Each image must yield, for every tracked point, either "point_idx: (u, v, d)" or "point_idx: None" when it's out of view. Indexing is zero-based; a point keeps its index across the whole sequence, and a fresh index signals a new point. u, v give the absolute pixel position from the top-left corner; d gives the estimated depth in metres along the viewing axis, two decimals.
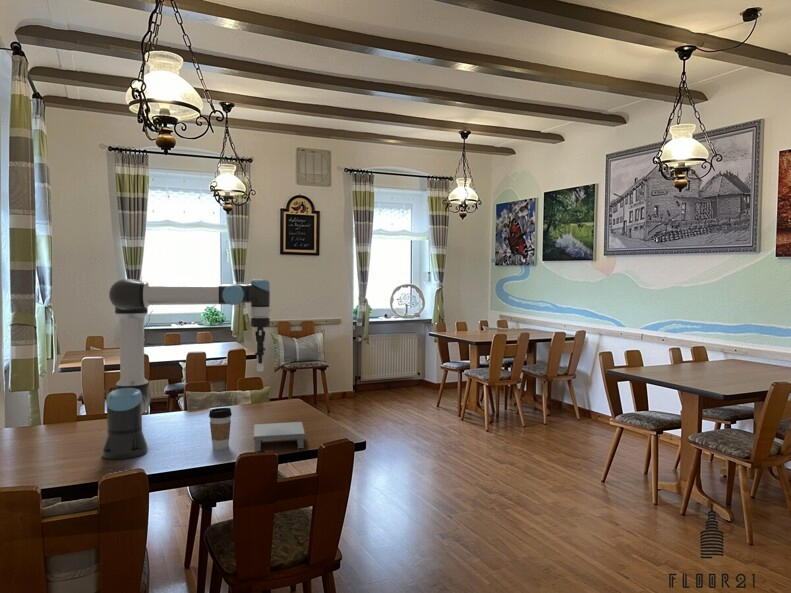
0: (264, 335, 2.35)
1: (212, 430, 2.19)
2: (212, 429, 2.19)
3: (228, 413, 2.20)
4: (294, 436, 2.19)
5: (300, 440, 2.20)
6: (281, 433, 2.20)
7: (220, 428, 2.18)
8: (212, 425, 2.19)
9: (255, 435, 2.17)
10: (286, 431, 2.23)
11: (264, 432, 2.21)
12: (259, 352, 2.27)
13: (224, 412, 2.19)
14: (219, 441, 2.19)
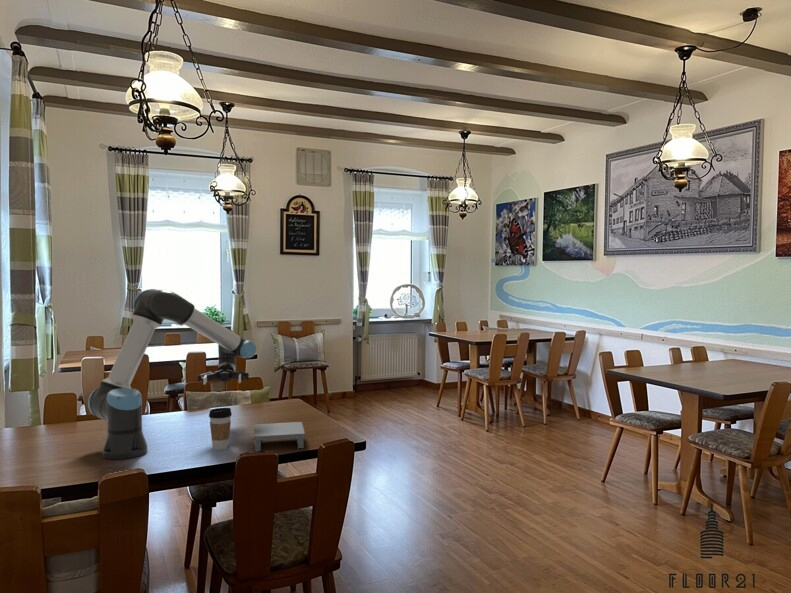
0: None
1: (212, 430, 2.19)
2: (212, 429, 2.19)
3: (228, 413, 2.20)
4: (294, 436, 2.19)
5: (300, 440, 2.20)
6: (281, 433, 2.20)
7: (220, 428, 2.18)
8: (212, 425, 2.19)
9: (255, 435, 2.17)
10: (286, 431, 2.23)
11: (264, 432, 2.21)
12: None
13: (224, 412, 2.19)
14: (219, 441, 2.19)
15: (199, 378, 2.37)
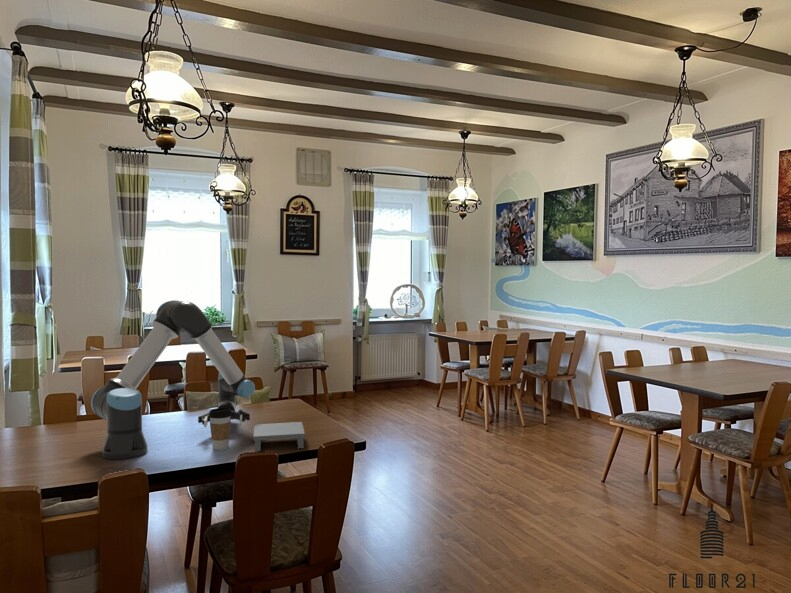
0: None
1: (212, 430, 2.19)
2: (212, 429, 2.19)
3: (228, 413, 2.20)
4: (294, 436, 2.19)
5: (300, 440, 2.20)
6: (281, 433, 2.20)
7: (220, 428, 2.18)
8: (212, 425, 2.19)
9: (255, 435, 2.17)
10: (286, 431, 2.23)
11: (264, 432, 2.21)
12: None
13: (224, 412, 2.19)
14: (219, 441, 2.19)
15: (199, 419, 2.33)
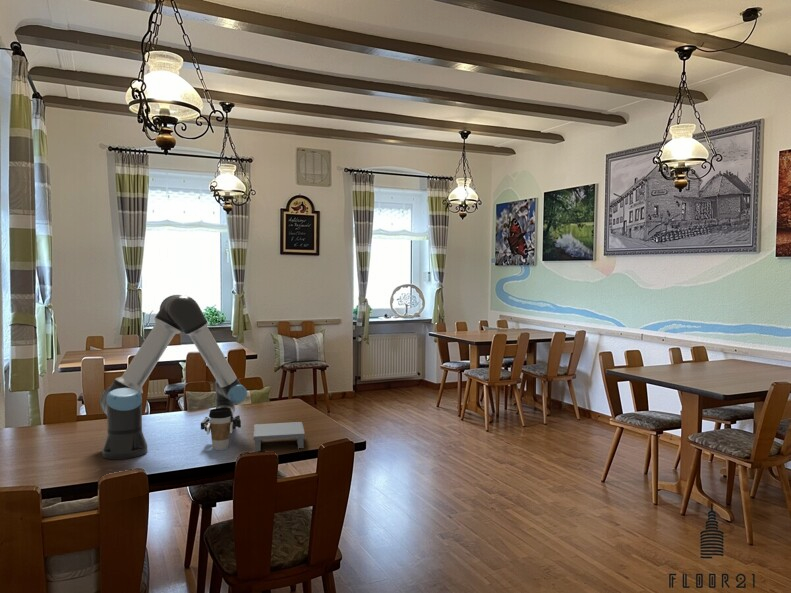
0: None
1: (212, 430, 2.19)
2: (212, 429, 2.19)
3: (228, 413, 2.20)
4: (294, 436, 2.19)
5: (300, 440, 2.20)
6: (281, 433, 2.20)
7: (220, 428, 2.18)
8: (212, 425, 2.19)
9: (255, 435, 2.17)
10: (286, 431, 2.23)
11: (264, 432, 2.21)
12: (240, 423, 2.26)
13: (224, 412, 2.19)
14: (219, 441, 2.19)
15: (202, 426, 2.23)
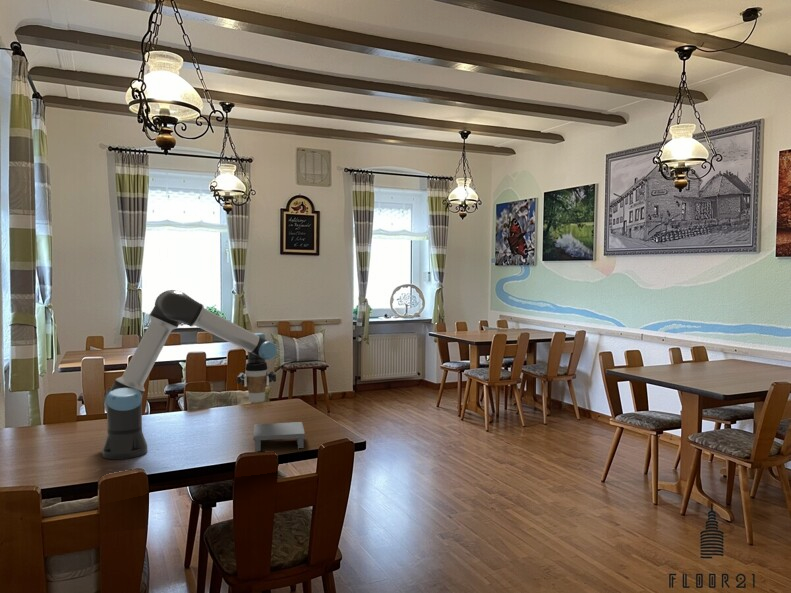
0: None
1: (249, 383, 2.22)
2: (249, 382, 2.22)
3: (264, 366, 2.23)
4: (294, 436, 2.19)
5: (300, 440, 2.20)
6: (281, 433, 2.20)
7: (257, 381, 2.22)
8: (249, 378, 2.22)
9: (255, 435, 2.17)
10: (286, 431, 2.23)
11: (264, 432, 2.21)
12: (275, 377, 2.30)
13: (261, 365, 2.22)
14: (256, 393, 2.22)
15: (238, 380, 2.26)
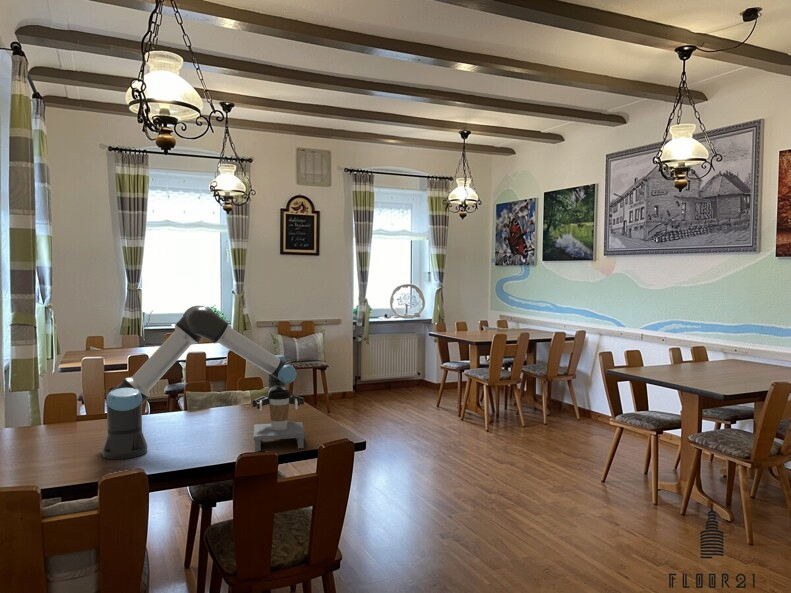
0: None
1: (272, 411, 2.24)
2: (272, 410, 2.24)
3: (287, 395, 2.25)
4: (294, 436, 2.19)
5: (300, 440, 2.20)
6: (281, 433, 2.20)
7: (280, 409, 2.23)
8: (272, 406, 2.24)
9: (255, 435, 2.17)
10: (286, 431, 2.23)
11: (264, 432, 2.21)
12: None
13: (284, 393, 2.24)
14: (279, 422, 2.24)
15: (254, 403, 2.28)
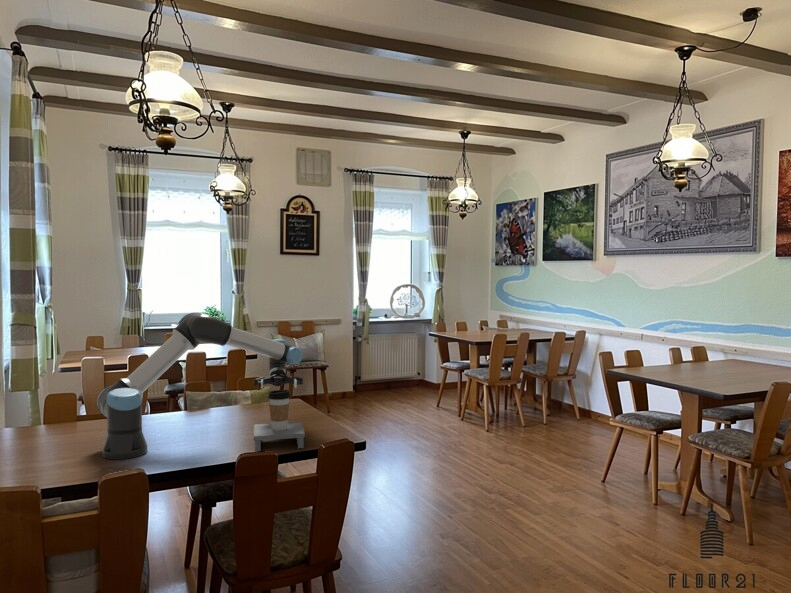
0: None
1: (272, 411, 2.24)
2: (272, 410, 2.24)
3: (287, 395, 2.25)
4: (294, 436, 2.19)
5: (300, 440, 2.20)
6: (281, 433, 2.20)
7: (280, 409, 2.23)
8: (272, 406, 2.23)
9: (255, 435, 2.17)
10: (286, 431, 2.23)
11: (264, 432, 2.21)
12: None
13: (284, 394, 2.24)
14: (278, 422, 2.24)
15: (255, 382, 2.41)
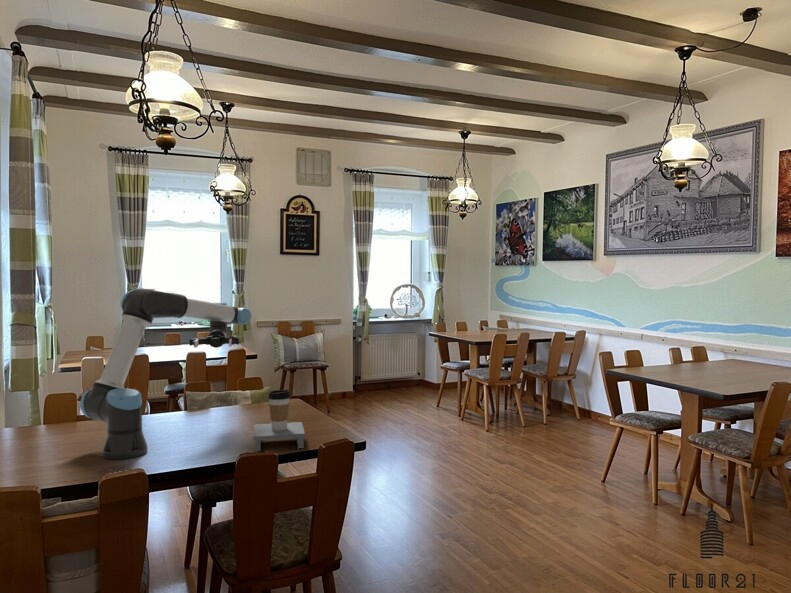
0: (222, 343, 2.52)
1: (272, 411, 2.24)
2: (272, 410, 2.24)
3: (287, 395, 2.25)
4: (294, 436, 2.19)
5: (300, 440, 2.20)
6: (281, 433, 2.20)
7: (280, 409, 2.23)
8: (272, 406, 2.23)
9: (255, 435, 2.17)
10: (286, 431, 2.23)
11: (264, 432, 2.21)
12: None
13: (284, 394, 2.24)
14: (278, 422, 2.24)
15: (191, 342, 2.43)
